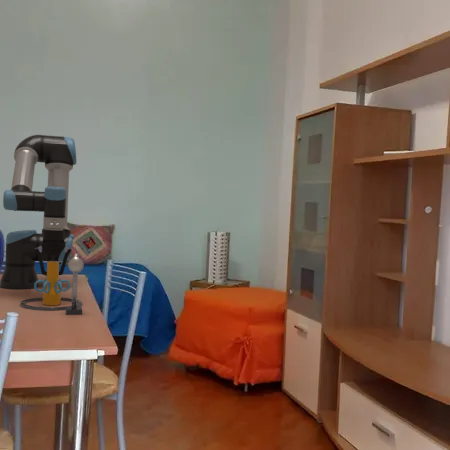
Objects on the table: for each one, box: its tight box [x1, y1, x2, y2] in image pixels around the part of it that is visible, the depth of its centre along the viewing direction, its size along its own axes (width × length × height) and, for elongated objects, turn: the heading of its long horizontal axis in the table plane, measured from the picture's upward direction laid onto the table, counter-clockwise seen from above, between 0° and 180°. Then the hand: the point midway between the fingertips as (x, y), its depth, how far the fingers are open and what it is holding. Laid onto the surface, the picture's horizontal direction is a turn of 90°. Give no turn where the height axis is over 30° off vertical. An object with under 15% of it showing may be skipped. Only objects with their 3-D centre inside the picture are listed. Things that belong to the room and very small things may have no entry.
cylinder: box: [33, 261, 71, 306], centre depth 199 cm, size 12×10×15 cm
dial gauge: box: [65, 253, 85, 316], centre depth 188 cm, size 8×5×20 cm, turn 18°
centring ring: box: [18, 296, 84, 311], centre depth 199 cm, size 21×21×1 cm
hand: (51, 294), depth 206 cm, fingers closed
